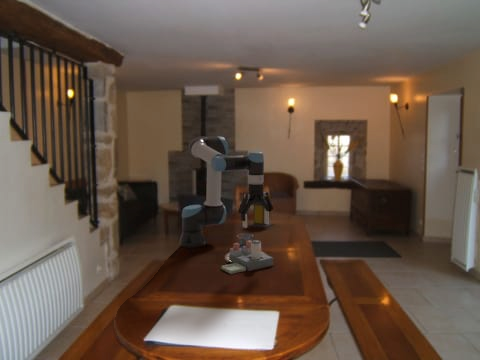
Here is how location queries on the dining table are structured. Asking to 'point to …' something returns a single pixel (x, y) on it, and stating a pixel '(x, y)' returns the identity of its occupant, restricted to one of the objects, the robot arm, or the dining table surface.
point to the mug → (244, 239)
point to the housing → (249, 259)
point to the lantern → (260, 215)
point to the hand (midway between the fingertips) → (256, 225)
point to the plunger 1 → (235, 246)
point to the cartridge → (255, 250)
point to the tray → (233, 268)
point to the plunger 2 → (248, 244)
